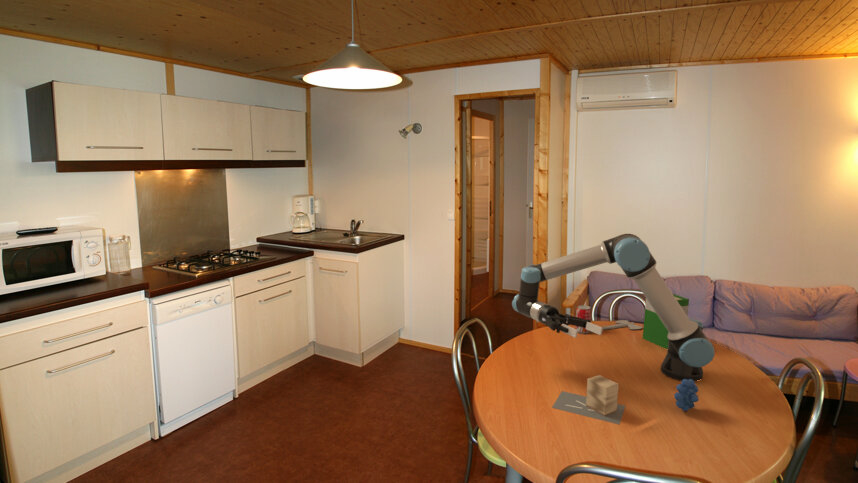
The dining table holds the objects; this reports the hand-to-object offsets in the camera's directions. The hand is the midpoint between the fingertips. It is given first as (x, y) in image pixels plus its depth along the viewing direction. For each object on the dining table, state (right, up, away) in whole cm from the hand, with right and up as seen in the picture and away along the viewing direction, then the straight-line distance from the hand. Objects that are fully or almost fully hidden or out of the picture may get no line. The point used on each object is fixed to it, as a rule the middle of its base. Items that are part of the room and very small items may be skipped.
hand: (589, 332), depth 171 cm
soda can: (+21, -14, +73) cm, 77 cm away
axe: (+38, -13, +79) cm, 89 cm away
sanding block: (+3, -25, -4) cm, 26 cm away
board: (-1, -26, -2) cm, 26 cm away
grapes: (+32, -27, -4) cm, 42 cm away
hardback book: (+54, -16, +58) cm, 81 cm away
